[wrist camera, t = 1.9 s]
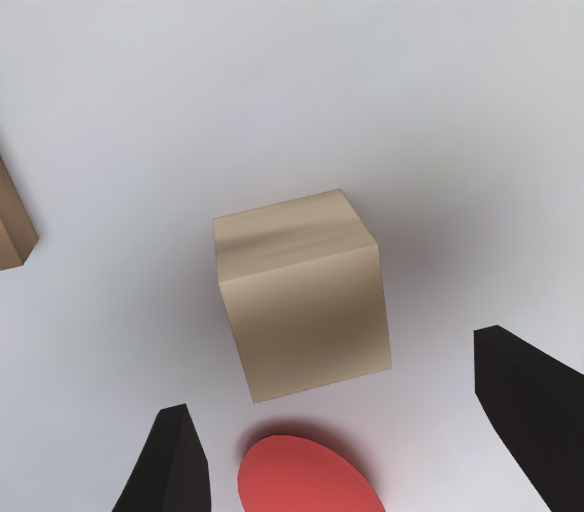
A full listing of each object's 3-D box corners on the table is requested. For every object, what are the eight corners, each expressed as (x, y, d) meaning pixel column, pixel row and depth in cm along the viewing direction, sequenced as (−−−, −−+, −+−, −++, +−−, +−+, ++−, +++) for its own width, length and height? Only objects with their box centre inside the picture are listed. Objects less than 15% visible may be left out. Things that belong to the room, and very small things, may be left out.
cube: (354, 294, 21) (392, 368, 17) (242, 322, 21) (253, 403, 17) (338, 188, 19) (378, 244, 15) (213, 217, 18) (218, 282, 14)
